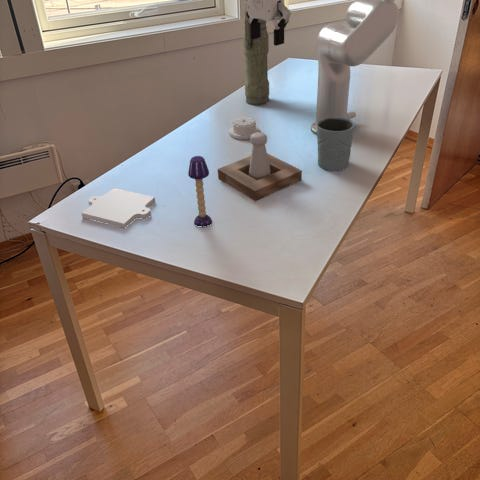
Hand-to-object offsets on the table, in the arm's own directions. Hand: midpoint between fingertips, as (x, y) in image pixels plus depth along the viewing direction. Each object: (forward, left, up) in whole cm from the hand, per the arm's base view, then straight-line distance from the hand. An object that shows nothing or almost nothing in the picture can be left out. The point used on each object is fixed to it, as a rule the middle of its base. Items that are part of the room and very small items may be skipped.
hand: (267, 41), depth 129 cm
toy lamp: (+39, +22, -31) cm, 54 cm away
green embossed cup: (-5, +22, -31) cm, 38 cm away
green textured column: (-22, -32, -31) cm, 49 cm away
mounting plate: (+52, +3, -31) cm, 60 cm away
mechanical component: (0, -12, -31) cm, 33 cm away
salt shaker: (+16, +15, -31) cm, 37 cm away
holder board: (+16, +15, -30) cm, 37 cm away
